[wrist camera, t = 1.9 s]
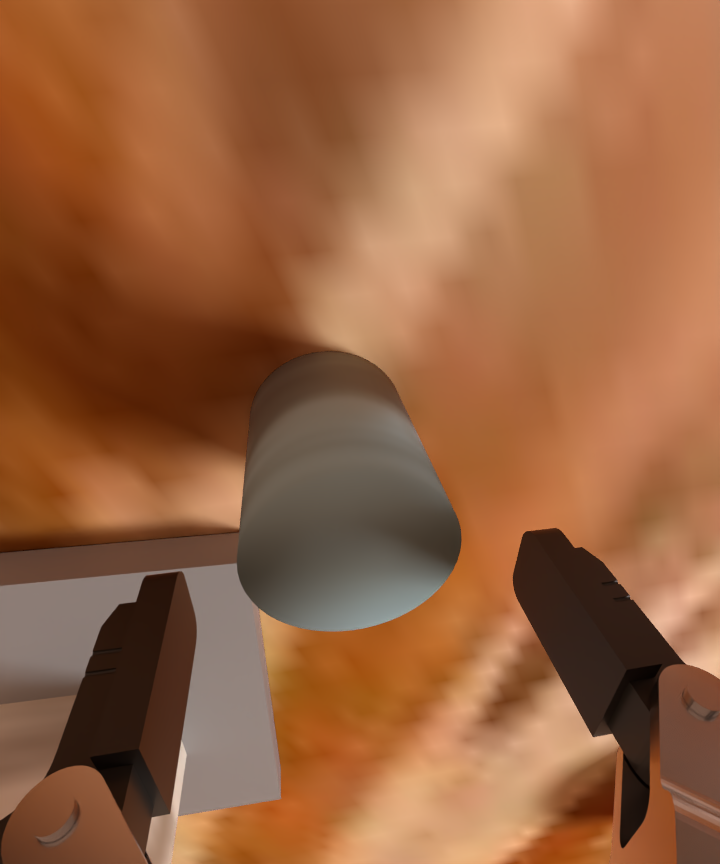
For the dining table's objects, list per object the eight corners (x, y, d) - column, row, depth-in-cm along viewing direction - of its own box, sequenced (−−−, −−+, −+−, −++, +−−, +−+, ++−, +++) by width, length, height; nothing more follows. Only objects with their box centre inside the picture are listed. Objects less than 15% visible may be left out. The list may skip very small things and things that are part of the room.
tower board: (-189, 569, 15) (-230, 607, 14) (248, 531, 17) (246, 562, 16) (20, 809, 25) (7, 844, 24) (280, 768, 27) (280, 798, 26)
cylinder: (241, 354, 14) (222, 479, 9) (407, 348, 14) (478, 461, 9) (256, 487, 16) (249, 642, 11) (396, 477, 17) (446, 619, 12)
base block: (-2, 704, 18) (-107, 922, 13) (161, 683, 19) (120, 880, 14) (49, 775, 21) (-20, 971, 16) (186, 754, 22) (160, 935, 17)
